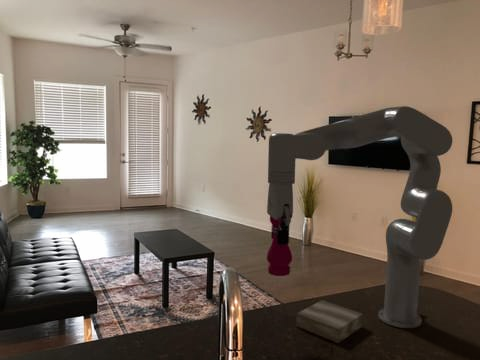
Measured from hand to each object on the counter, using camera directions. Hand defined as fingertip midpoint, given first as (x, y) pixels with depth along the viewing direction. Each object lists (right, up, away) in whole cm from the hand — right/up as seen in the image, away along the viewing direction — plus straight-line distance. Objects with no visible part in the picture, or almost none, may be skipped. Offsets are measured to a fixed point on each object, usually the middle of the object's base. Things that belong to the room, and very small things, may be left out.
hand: (279, 240), depth 118 cm
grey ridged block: (+15, -26, +6) cm, 31 cm away
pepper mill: (0, -10, +1) cm, 10 cm away
